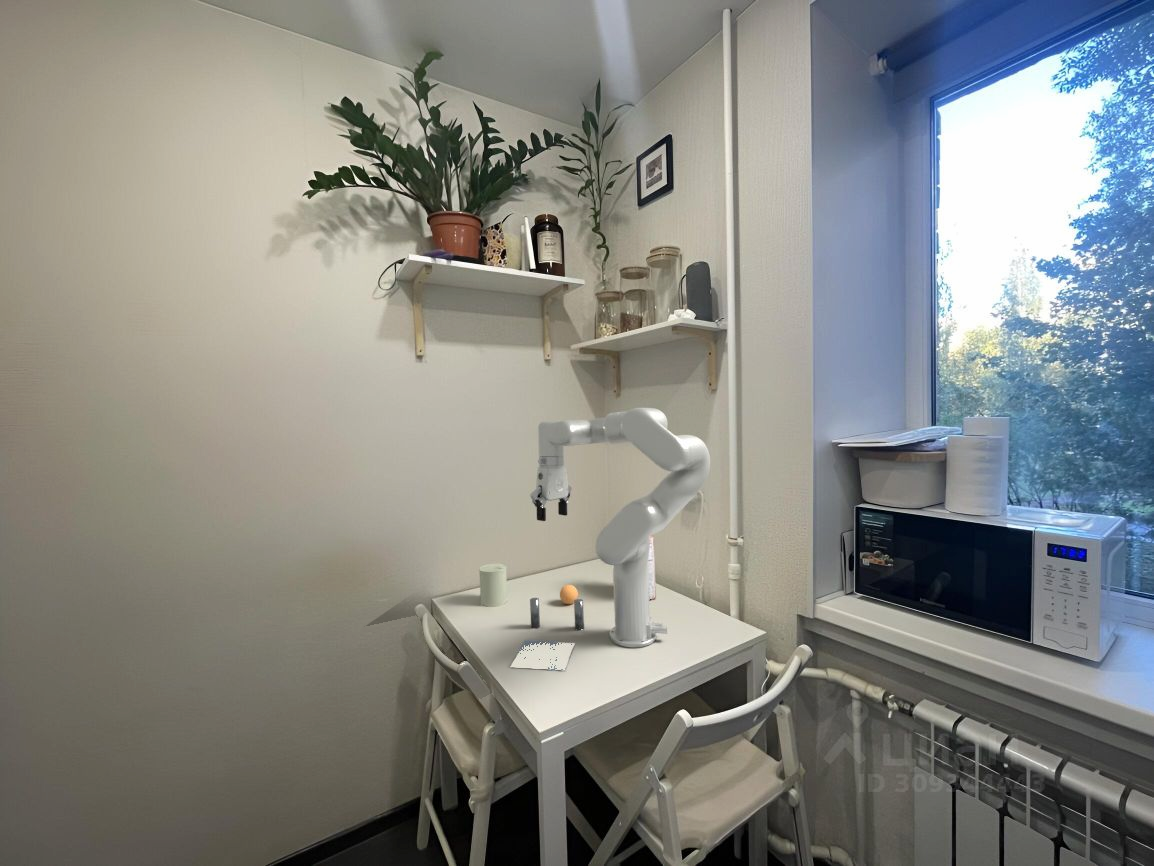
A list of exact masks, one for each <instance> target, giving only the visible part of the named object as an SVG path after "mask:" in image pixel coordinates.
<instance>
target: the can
mask: <svg viewBox="0 0 1154 866" xmlns="http://www.w3.org/2000/svg"><path fill="white" fill-rule="evenodd" d="M478 572H479V590H480V591H479V592H480V593H479V594H480V601H479V604H480V603H481V604H482V605H481V606H483V605H485V606H484V607H488V606H492V607H496V606H495V605H499V606H501V605H500V604H502V605H504V604H506V603H507V602H508V601H507V600H509V598H508V584H507V582H508V581H507V565H506V564H503V563H489V564H484V565H482V566H480V567H479V569H478ZM506 601H507V602H506ZM505 602H506V603H505ZM503 603H504V604H503Z"/></svg>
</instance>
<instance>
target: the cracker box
mask: <svg viewBox="0 0 1154 866" xmlns="http://www.w3.org/2000/svg"><path fill="white" fill-rule="evenodd" d="M655 563H656V561H655V541H654V537H653V536H652V535H651V536H650V550H649V559H648V584H649V601H651V600H650V599H652V600H655V599H654V598H656V599H657V593H656V591H657V589H656V588H657V587H656V586H657V585H656V569H655V568H656V566H655Z"/></svg>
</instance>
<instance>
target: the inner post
mask: <svg viewBox="0 0 1154 866" xmlns="http://www.w3.org/2000/svg"><path fill="white" fill-rule="evenodd" d="M573 608H574V609H573V610H574V611H573V612H574V630H576V629H577V630H576V631H582V630H581V629H583V630H584V629H585V620H584V617H585V616H584V600H583V599H582V598H577V599H576V600H574V603H573Z"/></svg>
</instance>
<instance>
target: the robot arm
mask: <svg viewBox="0 0 1154 866" xmlns="http://www.w3.org/2000/svg"><path fill="white" fill-rule="evenodd" d="M668 423H669V422H668V419H667V417H666V415H665V413H664V412H663V411H661V410H660V409H658V408H653V407H635V408H632V409H629V410H627V411H626V410H624V411H617V412H610V413H608V414H607V415H606V416H604V417H598V418H592V419H573V420H572V419H568V420H567V419H563V420H559V421H556V420H553V421H551V420H550V421H548V420H547V421H541V422H540V423H538V460H537V463H538V467H537V474H536V488H535V489H534V490H533V491H532V492H531V493H530V495H529V496H530V498H531V501H532V504H534V507H535V508H536V520H537V521H541V522H545V521H547V514H546V513H547V511H546V510H547V508H546V507H545V506H546V504H547V502H548V501H551V502H552V501H555V500H558V504H557V506H558V509H557V511H558V515H559V516H568V502H569V499H570V496H571V492H572V488H573V487H571V485H569V482H568V481H569V480H568V479H569V478H568V472H567V467H566V465H565V464H564V461H565V459H564V457H565V456H564V447H573V446H580V445H583V446H584V445H593V444H604V443H609V444H612V445H613V444H622V443H623V444H624V443H631V445H633V446H634V447H635V448H636V449H638V450H639V451H640V452H641V453H642V454H644V456H645V457H647V458H648V459H649V460H650V461H652V462H653V463H654V464H655V465H657V467H659V468H660V469H662V470H664V471H668V472H670V473H668V475H666V476H665V477H664V478H663V479H662V480H661V481H660V483H658V484H657V486H656V487H654V489H653V490H651V492H650V493H648V494H647V495H646V496H643V497H640V498H637V499H634V500H632V501H630V502H627V504H626V505H624V506H623V507H622V508H621V509H620V510H619V511H618V512H617V514H615V515H614V517H613V518H612V519H611V520H610V521H609V522H608V523H607V524H606V525H605V526H604V528H602V529H601V530H600V532H599V534H598V535H597V537H596V540H595V552H596V556H597V557H598V558H599V560H600V561H601V562H603V563H604V564H606V565H607V566H608V565H610V566H613V569H612V570H613V571H612V575H613V576H612V577H613V579H612V580H613V607H614V608H613V609H614V627H612V628H611V629H610V631H609V638H610V640H611V642H612V643H614V644H615V645H618V646H621V647H626V648H642V647H647V646H649V645H651V644H653V643H654V642H655V641H656V639H657V634H661V635H662V634H663V635H667V634H668V625H663V622H654V621H652V616H651V615H650V600H649V584H648V559H649V550H650V536H651V537H652V536H653V535H655V534H657V533H659V532H661V531H663V530H664V529H665V528H666V527H668V525H669V523H670V522H671V521H672V520H673V519H674V518H676V516H677V515H678V514H680V512H681V511H682V510H683V509H684V508H685V506H686V505H688V504H689V502H690V501H692V499H693V498H694V497H695V496H696V495H697V494H698V493H699V491H700V490H701V489H702V488H703V486H704V485H705V483H706V481H707V480H708V477H709V474H710V471H711V456H710V452H709V449H708V447H707V445H706V444H705V442H704V441H703V440H702V439H700V438H699V437H697V436H695V435H692V434H680V435H679V434H678V435H675V434H674V433H672V432H671V431H669V429H668Z"/></svg>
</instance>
